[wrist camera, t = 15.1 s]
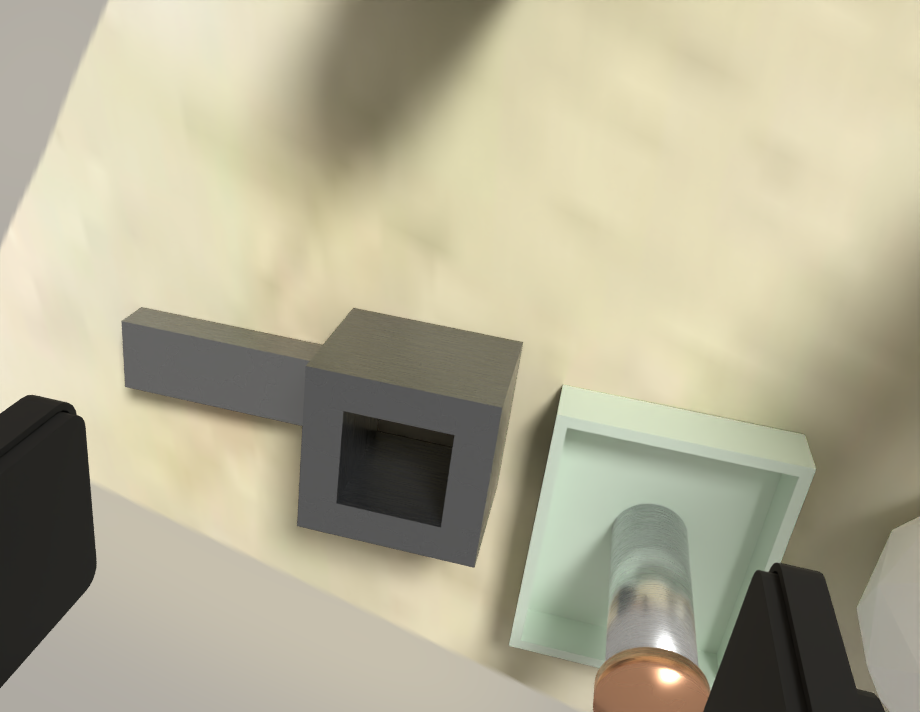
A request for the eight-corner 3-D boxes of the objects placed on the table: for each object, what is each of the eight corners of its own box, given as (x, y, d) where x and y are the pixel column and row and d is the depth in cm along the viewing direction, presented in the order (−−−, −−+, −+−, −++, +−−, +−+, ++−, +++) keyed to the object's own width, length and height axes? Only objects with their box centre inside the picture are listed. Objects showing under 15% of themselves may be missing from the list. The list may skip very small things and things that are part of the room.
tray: (562, 384, 44) (557, 414, 41) (805, 434, 42) (816, 469, 39) (516, 606, 51) (508, 645, 48) (723, 656, 49) (728, 699, 46)
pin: (705, 508, 45) (726, 685, 34) (683, 579, 47) (696, 767, 36) (614, 488, 45) (605, 656, 34) (596, 559, 47) (583, 738, 36)
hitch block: (523, 342, 43) (502, 407, 37) (497, 486, 47) (474, 567, 41) (139, 264, 46) (59, 313, 40) (145, 408, 50) (74, 473, 44)
